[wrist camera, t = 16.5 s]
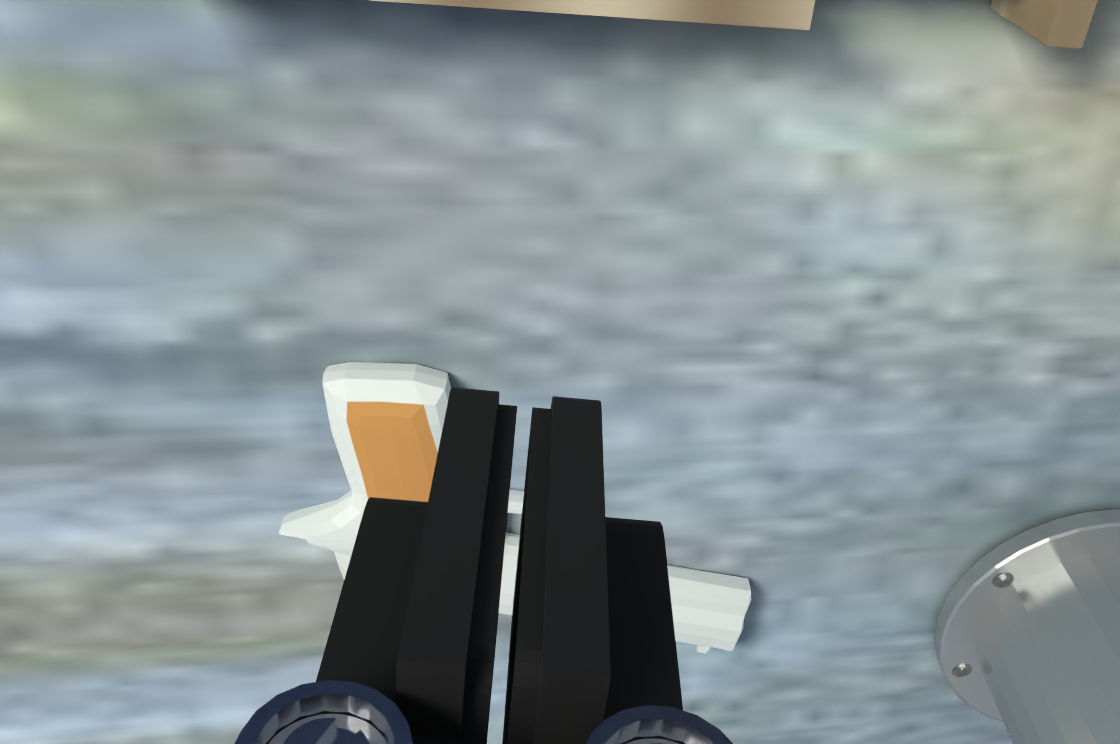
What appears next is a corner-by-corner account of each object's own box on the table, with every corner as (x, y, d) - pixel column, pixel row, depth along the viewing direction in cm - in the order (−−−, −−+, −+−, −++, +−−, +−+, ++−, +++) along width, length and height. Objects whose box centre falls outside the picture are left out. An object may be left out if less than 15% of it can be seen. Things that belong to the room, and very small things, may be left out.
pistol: (813, 429, 41) (725, 627, 47) (308, 333, 38) (282, 555, 44) (827, 466, 39) (733, 668, 45) (295, 367, 36) (269, 595, 42)
